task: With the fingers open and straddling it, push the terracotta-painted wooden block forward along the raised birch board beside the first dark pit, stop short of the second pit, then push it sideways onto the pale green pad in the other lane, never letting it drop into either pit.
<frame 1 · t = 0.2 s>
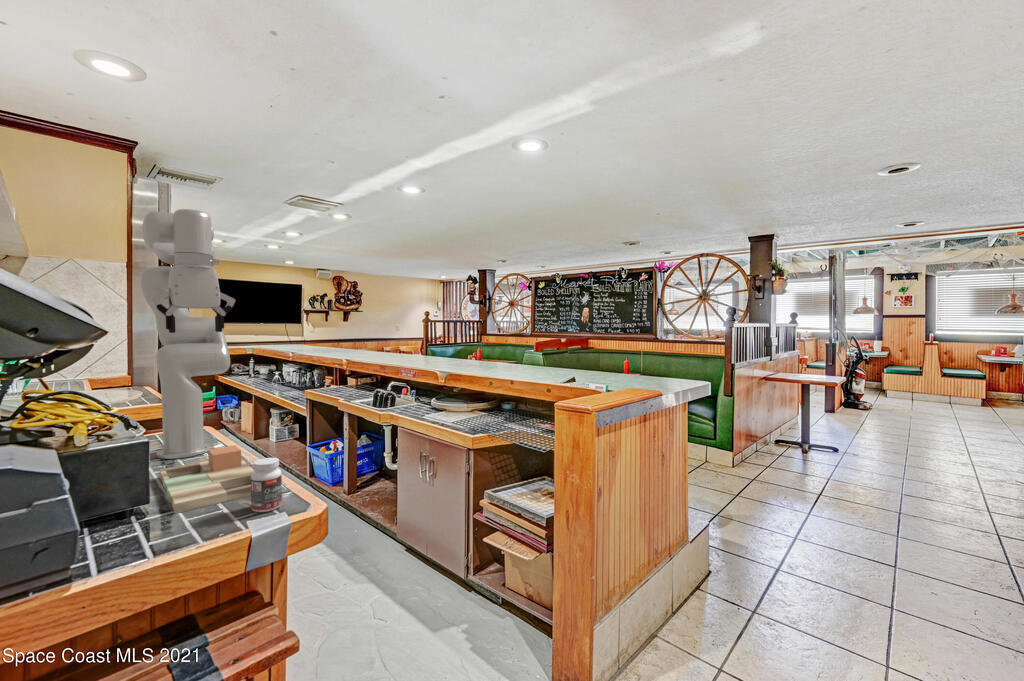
hand: (196, 332, 111), 36 cm above the worktop, tool pointing down, fingers open, 9 cm apart
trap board: (209, 484, 106), on the worktop
block: (225, 465, 114), point 2 cm above the worktop, touching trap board
pill bottle: (266, 508, 95), on the worktop
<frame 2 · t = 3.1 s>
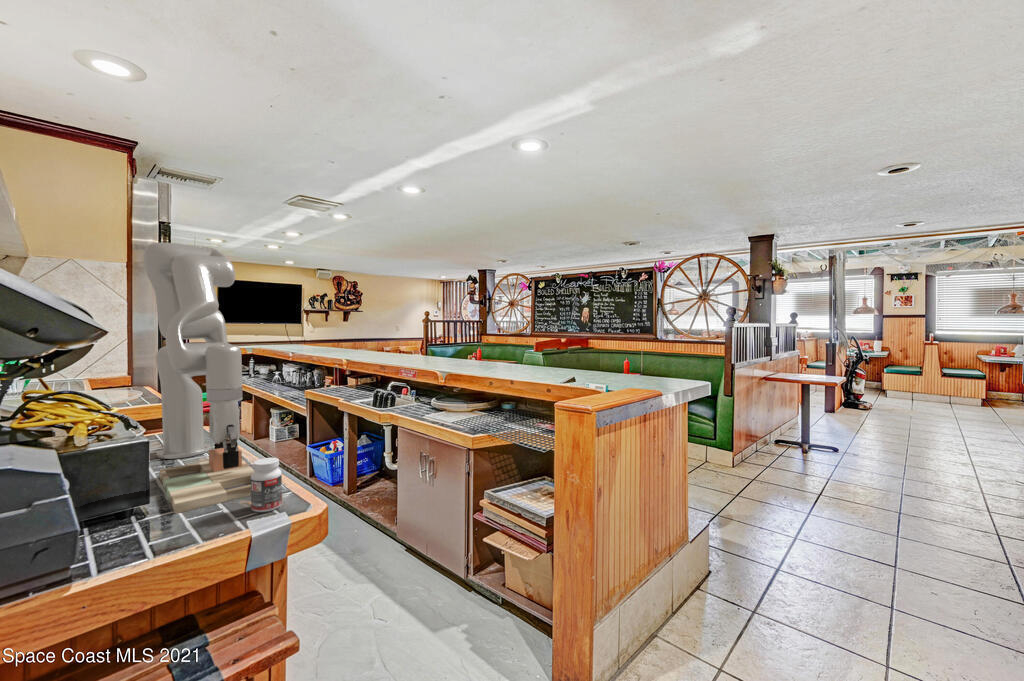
hand: (226, 462, 113), 3 cm above the worktop, tool pointing down, fingers open, 9 cm apart
nothing on the worktop moved.
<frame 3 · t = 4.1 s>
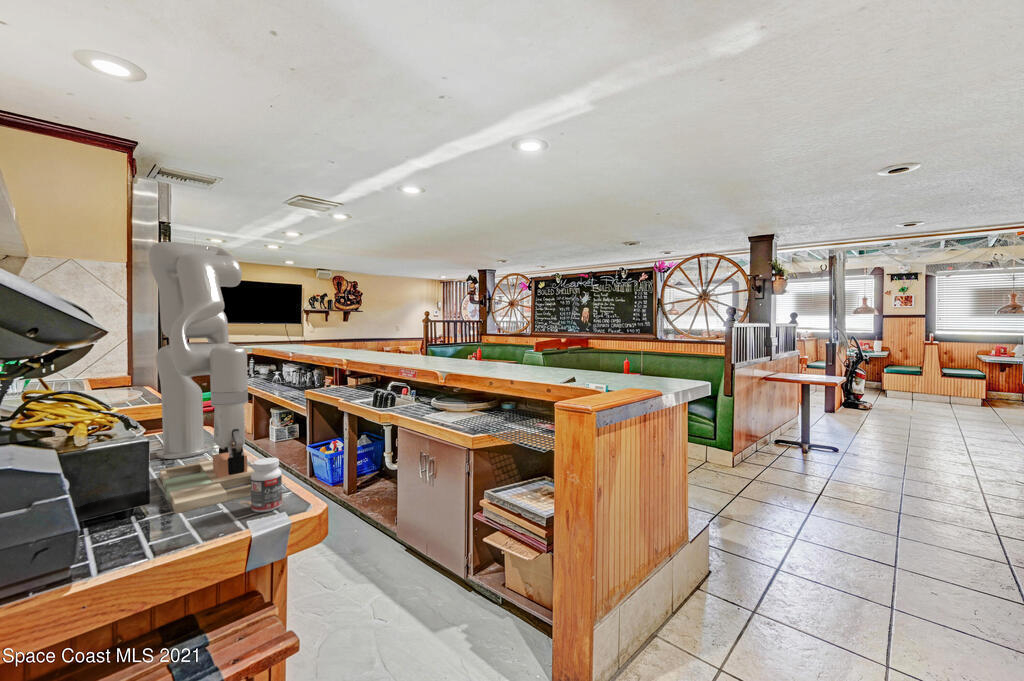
hand: (231, 467, 109), 3 cm above the worktop, tool pointing down, fingers open, 9 cm apart
block: (230, 471, 110), point 2 cm above the worktop
everything else where it was.
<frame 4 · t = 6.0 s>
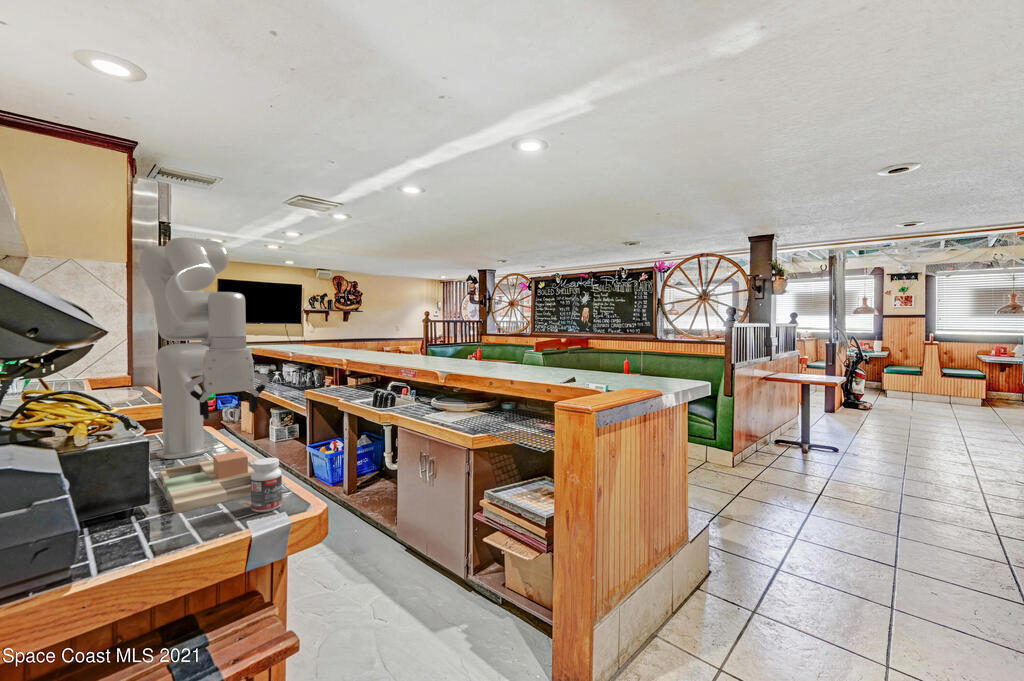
hand: (229, 415, 108), 16 cm above the worktop, tool pointing down, fingers open, 9 cm apart
block: (230, 472, 109), point 2 cm above the worktop, touching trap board
everything else where it was.
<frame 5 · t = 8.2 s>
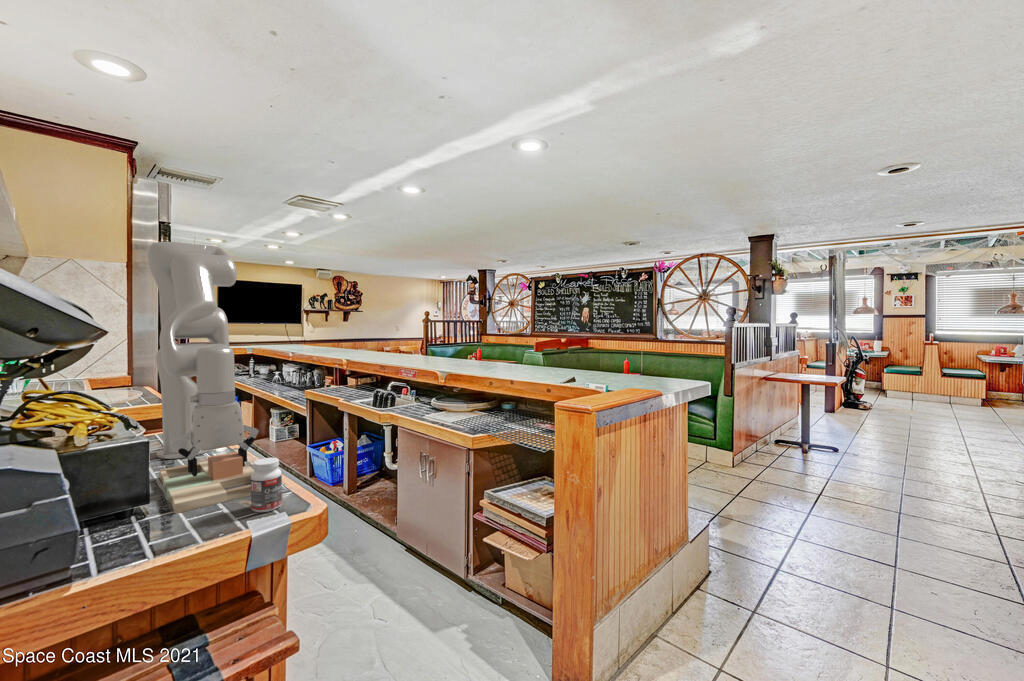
hand: (218, 469, 107), 3 cm above the worktop, tool pointing down, fingers open, 9 cm apart
block: (225, 473, 109), point 2 cm above the worktop, touching gripper, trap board
everything else where it was.
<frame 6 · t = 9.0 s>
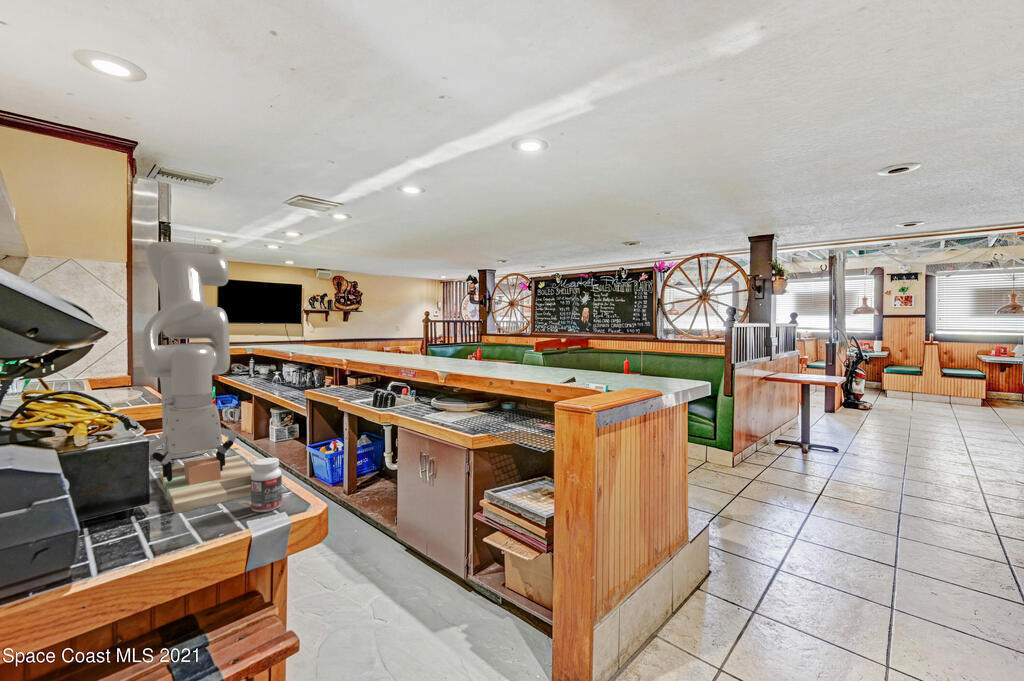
hand: (195, 474, 104), 3 cm above the worktop, tool pointing down, fingers open, 9 cm apart
block: (202, 478, 105), point 2 cm above the worktop, touching gripper, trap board
everything else where it was.
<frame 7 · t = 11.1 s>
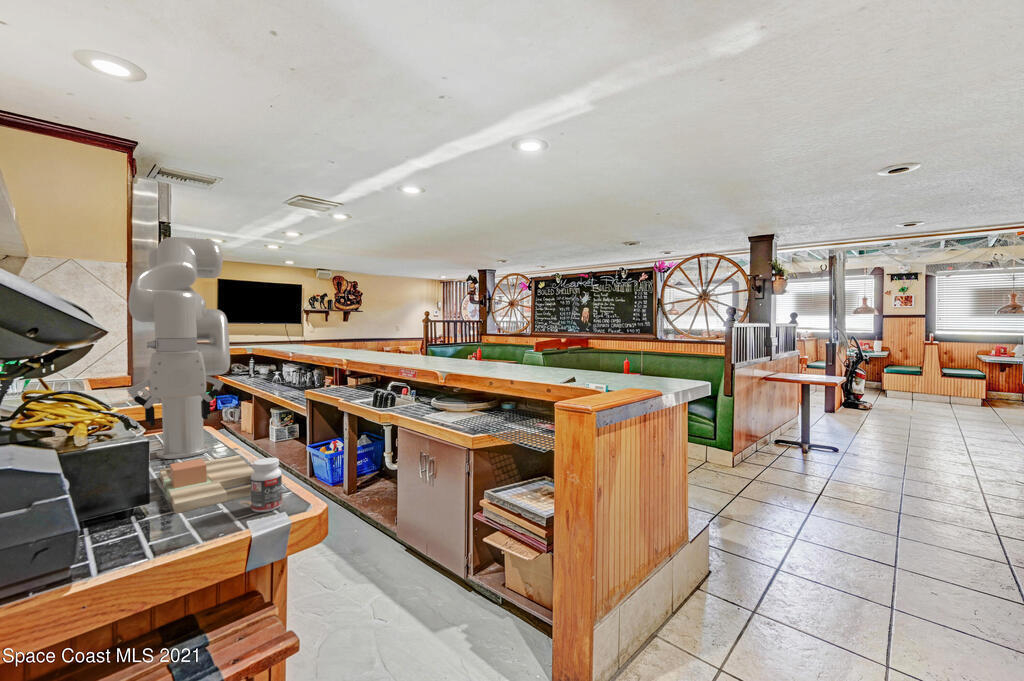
hand: (179, 421, 102), 16 cm above the worktop, tool pointing down, fingers open, 9 cm apart
block: (188, 481, 103), point 2 cm above the worktop, touching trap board
everything else where it was.
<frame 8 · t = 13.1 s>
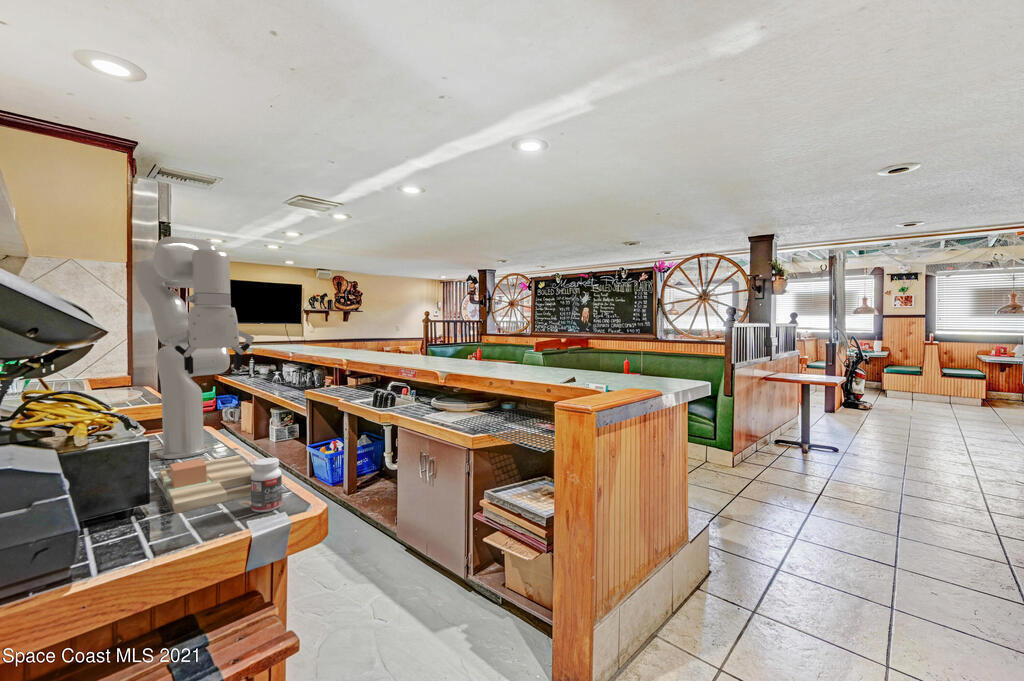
hand: (214, 371, 110), 26 cm above the worktop, tool pointing down, fingers open, 9 cm apart
nothing on the worktop moved.
at the end: block inside the target area on the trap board (0.3 cm from its centre), point 1.9 cm above the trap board's base; block tilted 0° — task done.
